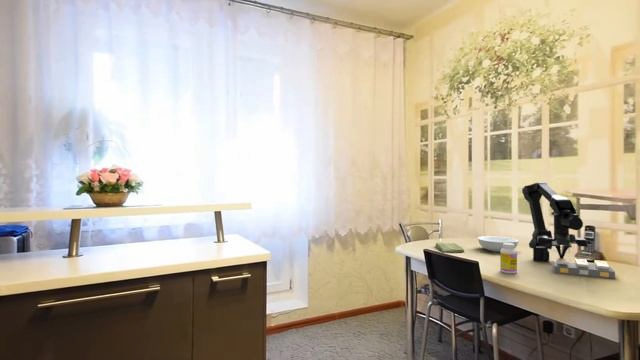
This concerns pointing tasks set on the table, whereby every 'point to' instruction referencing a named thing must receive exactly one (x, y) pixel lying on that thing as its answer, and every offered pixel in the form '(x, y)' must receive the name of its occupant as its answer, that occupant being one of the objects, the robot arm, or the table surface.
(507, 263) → the supplement bottle
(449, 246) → the washcloth
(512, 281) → the table surface
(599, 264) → the block
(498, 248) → the serving bowl
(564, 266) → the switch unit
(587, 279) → the table surface
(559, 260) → the rocker
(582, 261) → the rocker
